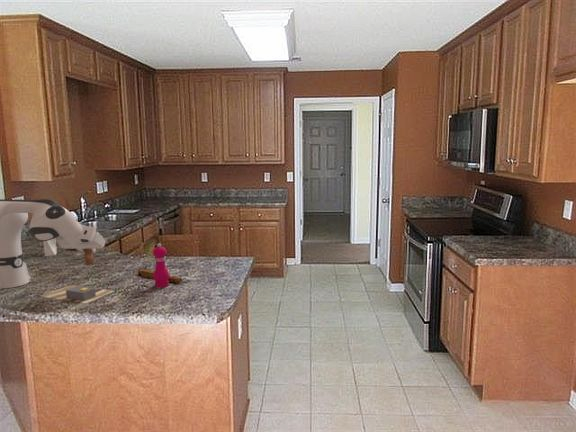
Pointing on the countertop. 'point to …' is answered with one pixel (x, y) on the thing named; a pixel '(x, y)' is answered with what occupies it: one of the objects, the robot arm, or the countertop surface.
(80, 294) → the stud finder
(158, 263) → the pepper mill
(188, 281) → the countertop surface
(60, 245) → the robot arm
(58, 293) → the subfloor panel
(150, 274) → the tap handle
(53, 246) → the skyscraper
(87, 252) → the awl
